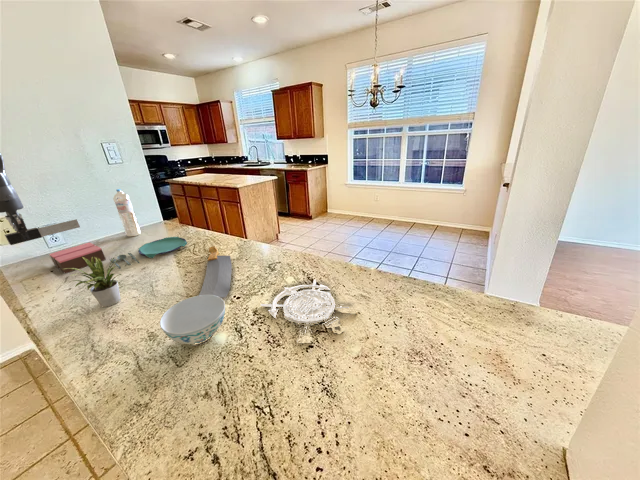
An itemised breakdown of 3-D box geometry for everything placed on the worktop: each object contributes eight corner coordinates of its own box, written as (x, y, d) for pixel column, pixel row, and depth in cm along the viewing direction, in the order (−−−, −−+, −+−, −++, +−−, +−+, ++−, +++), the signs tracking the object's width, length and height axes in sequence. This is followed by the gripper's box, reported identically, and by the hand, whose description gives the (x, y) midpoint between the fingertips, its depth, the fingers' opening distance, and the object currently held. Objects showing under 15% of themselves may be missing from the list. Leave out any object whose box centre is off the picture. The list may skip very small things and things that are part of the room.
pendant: (309, 277, 94) (309, 273, 93) (370, 314, 74) (370, 310, 73) (254, 301, 82) (254, 298, 81) (309, 355, 61) (309, 350, 61)
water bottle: (123, 236, 142) (106, 190, 132) (135, 232, 148) (119, 187, 138) (133, 237, 140) (116, 191, 130) (144, 232, 146) (129, 188, 136)
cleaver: (233, 248, 119) (231, 300, 84) (209, 252, 117) (197, 307, 82) (231, 242, 118) (229, 291, 83) (207, 245, 115) (195, 297, 80)
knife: (10, 245, 102) (5, 235, 101) (9, 244, 103) (4, 234, 102) (80, 227, 119) (77, 219, 117) (79, 226, 120) (75, 218, 119)
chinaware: (170, 327, 73) (163, 304, 70) (227, 311, 78) (222, 289, 75) (165, 368, 60) (156, 342, 57) (233, 345, 65) (227, 320, 62)
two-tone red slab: (65, 273, 105) (59, 261, 103) (54, 265, 113) (49, 254, 111) (106, 259, 116) (101, 248, 114) (94, 253, 123) (89, 242, 121)
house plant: (69, 310, 82) (45, 264, 76) (116, 286, 94) (98, 245, 88) (95, 320, 77) (72, 272, 70) (141, 294, 88) (125, 251, 82)
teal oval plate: (194, 247, 124) (193, 242, 123) (119, 272, 104) (117, 267, 103) (177, 237, 136) (176, 233, 135) (107, 258, 116) (105, 254, 115)
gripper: (-15, 198, 100) (8, 240, 107) (-8, 202, 93) (16, 247, 100) (13, 194, 106) (34, 234, 113) (22, 197, 99) (43, 240, 105)
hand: (25, 240), depth 106 cm, fingers closed on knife, 2 cm apart
